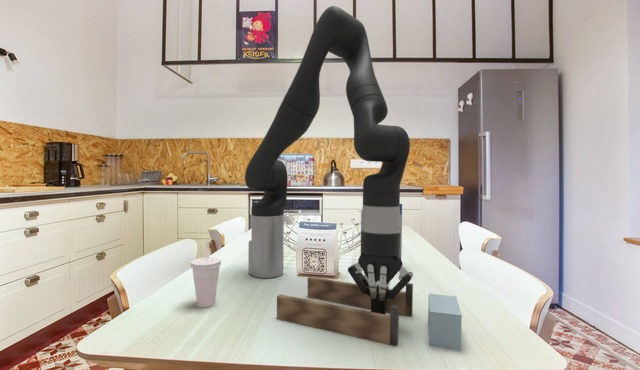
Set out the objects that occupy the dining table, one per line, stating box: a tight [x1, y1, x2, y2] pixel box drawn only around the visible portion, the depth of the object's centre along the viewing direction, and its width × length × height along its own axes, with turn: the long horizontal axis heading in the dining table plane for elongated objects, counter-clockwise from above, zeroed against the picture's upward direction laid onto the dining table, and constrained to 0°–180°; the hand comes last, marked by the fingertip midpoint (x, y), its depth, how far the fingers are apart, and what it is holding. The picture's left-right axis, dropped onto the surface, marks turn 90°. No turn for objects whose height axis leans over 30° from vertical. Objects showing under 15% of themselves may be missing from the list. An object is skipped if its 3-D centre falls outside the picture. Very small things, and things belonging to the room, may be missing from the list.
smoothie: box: [190, 240, 222, 308], centre depth 73 cm, size 6×6×14 cm
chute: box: [276, 276, 414, 347], centre depth 68 cm, size 24×14×6 cm, turn 64°
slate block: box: [427, 293, 463, 351], centre depth 60 cm, size 5×9×6 cm, turn 163°
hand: (378, 316), depth 65 cm, fingers closed
